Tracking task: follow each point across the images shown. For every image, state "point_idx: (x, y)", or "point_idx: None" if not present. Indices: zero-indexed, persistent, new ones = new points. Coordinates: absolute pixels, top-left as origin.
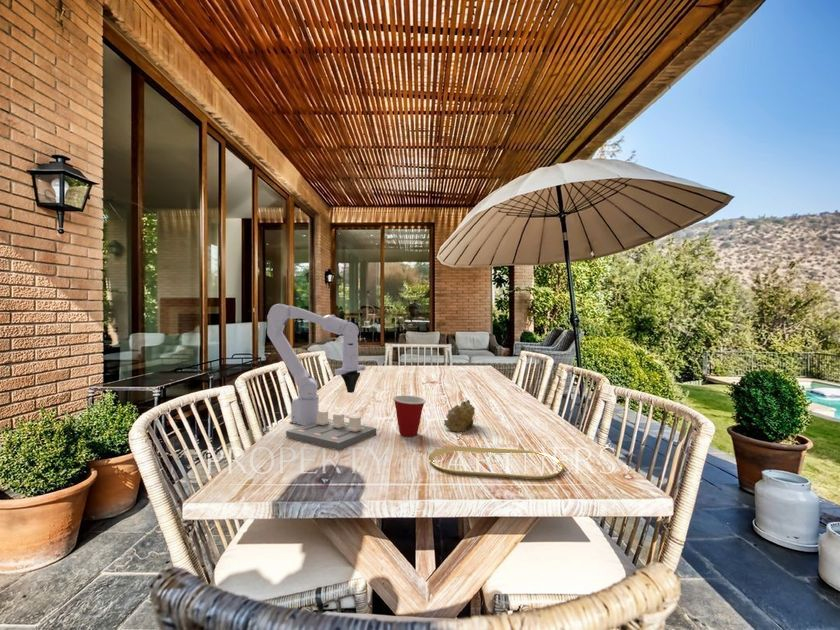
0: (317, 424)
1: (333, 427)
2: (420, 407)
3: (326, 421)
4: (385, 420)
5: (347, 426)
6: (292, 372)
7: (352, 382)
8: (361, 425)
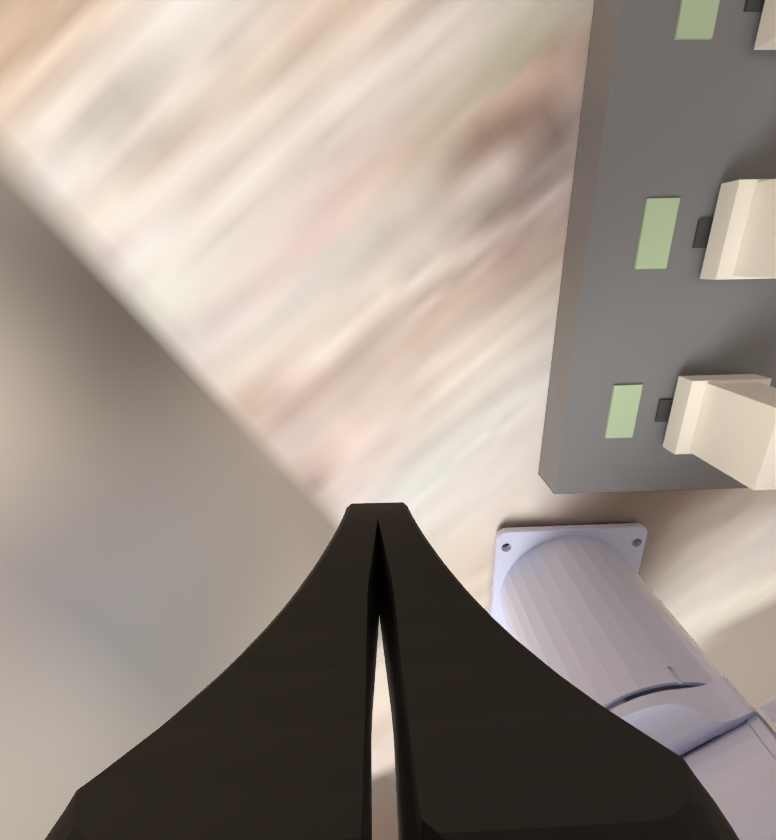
0: None
1: None
2: None
3: (730, 379)
4: (170, 148)
5: (695, 178)
6: None
7: (453, 612)
8: (614, 74)
